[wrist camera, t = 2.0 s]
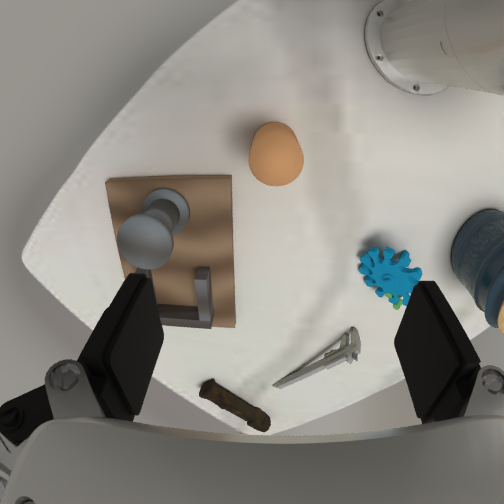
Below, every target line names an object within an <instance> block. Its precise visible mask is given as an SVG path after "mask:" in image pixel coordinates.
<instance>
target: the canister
mask: <svg viewBox="0 0 504 504" xmlns="http://www.w3.org/2000/svg"><path fill="white" fill-rule="evenodd" d="M451 260H452V266H453V269H454V271H455V274H456V276H457V278H458V279H459V280H460V282H461V283H462V284H463V285H464V286H465V287H466V288H467V290H468V291H469V293H470V294H471V296H472V297H473V298H474V301H475V303H476V305H477V307H478V308H479V309H480V310H481V311H483V312H485V318H486V321H487V322H488V324H489V325H491V326H492V327H495V328H499V330H500V331H501V332H502V333H503V334H504V213H503V212H500V211H498V210H493V209H490V210H484V211H481V212H479V213H477V214H476V215H474V216H473V217H472V218H470V219H469V220H468V221H467V222H466V223H465V224H464V226H463V227H462V228H461V230H460V231H459V233H458V235H457V237H456V239H455V241H454V244H453V248H452V254H451Z"/></svg>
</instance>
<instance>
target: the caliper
mask: <svg viewBox="0 0 504 504" xmlns="http://www.w3.org/2000/svg"><path fill="white" fill-rule="evenodd" d="M360 348H361V341H360V337H359V333H358V330H357V329H355V328H354V327H352V328H351V344H350V345H349V334H347V333H346V332H345V333H344V334H343V336H342V340H341V344H340V348H339V349H337V350H331V351H330V352H329V353H325V356H324V358H323V359H321V360H319V361H317V362H315V363H313V364H311V365H309V366H307V367H305V368H303V369H301V370H299V371H297V372H295V373H293V374H291V375H289V376H286V377H284V378H282V379H281V380H279V381H278V382H277V383H276V384H273V385H272V386H273V387H276V388H279V389H281V388H284V387H286V386H288V385H291V384H293V383H295V382H297V381H300V380H302V379H304V378H306V377H308V376H311V375H313V374H315V373H317V372H319V371H321V370H323V369H325V368H326V369H330V368H332V367H334V366H336V365H338V364H340V363H343V362H345V361H347V362H348V363H350V364H351V363H352V361H353V359H354V360H356V361H357V355H358V354H359V353H360Z"/></svg>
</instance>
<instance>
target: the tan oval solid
mask: <svg viewBox="0 0 504 504" xmlns="http://www.w3.org/2000/svg"><path fill="white" fill-rule="evenodd" d="M303 164H304V156H303V152H302V150H301V147H300V145H299V143H298V140H297V138H296V136H295V134H294V132H293V131H292V130H291V129H290V128H289V127H288V126H287V125H285V124H282V123H279V122H271V123H267V124H265V125H263V126H261V127H260V128H259V129H258V130H257V132H256V133H255V135H254V138H253V142H252V146H251V149H250V153H249V167H250V169H251V171H252V173H253V175H254V176H255V177H256V178H257V179H258V180H259V181H261V182H262V183H264V184H267V185H270V186H283V185H286V184H289V183H290V182H292V181H293V180H295V179H296V178H297V177H298V176H299V174H300V173H301V171H302V168H303Z"/></svg>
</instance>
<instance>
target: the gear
mask: <svg viewBox="0 0 504 504" xmlns="http://www.w3.org/2000/svg"><path fill="white" fill-rule="evenodd" d="M379 253H380V250H379V248H376V247H371V248H370V250H369V251H368V254H367V253H365V254H364V255H363V256H362V257H361V258H360V261H361V262H362V263H363V264H362V266H361V267H360V269H359V272H360V273H361V274H364V275H367V277H366V279H365V283H366V285H367V286H369V287H370V286H378V288H377V289H376V291H375V293H376V294H377V295H378V296H379V297H382V296H383V295H384V294H385V293H386V296H387V297H388V298H389V302H391V303H393V308H394V309H397V310H398V309H399V308H400V306H401V304H402V303H403V305H406V306H407V304H408V302H409V299H410V296H409V293H412V290H413V287H414V286H415V285H417V284H418V283H419V280H420V278H421V276H422V271H421V268H418V267H416V268H413V269H409V268H405V267H408V266H409V264H410V262H411V259H410V258H409V253H408V252H407V251H403V253H402V255H401V256H400V258H399V260H398V261H392V260H391V258H392V257H393V255H394V254H395V250H393V249H392V248H389V247H386V249H385V250H384V252H383V255H384V260H382V259H380V258H379V256H378V255H379ZM370 256H371V257H370ZM371 258H372V259H373V261H374V263H373V262H372V261H371ZM403 266H404V267H403ZM408 292H409V293H408ZM402 296H403V297H404V299H403V300H402V299H400V298H401V297H402Z"/></svg>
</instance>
